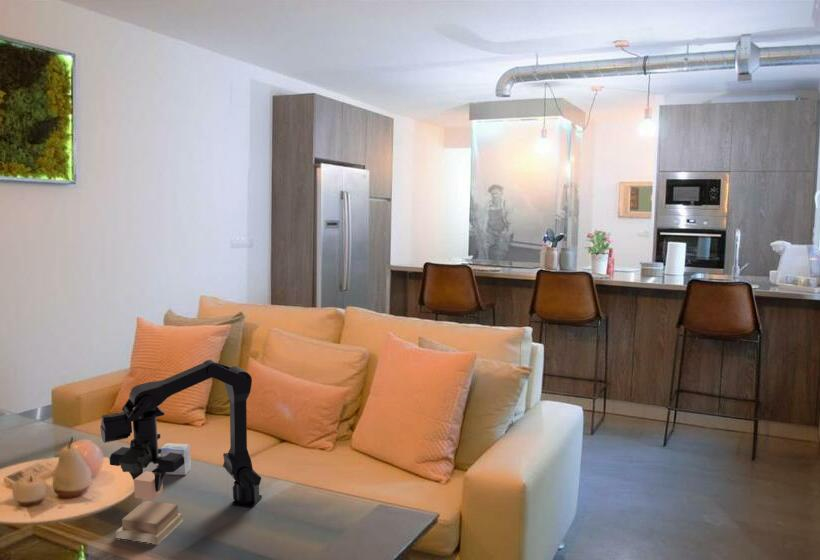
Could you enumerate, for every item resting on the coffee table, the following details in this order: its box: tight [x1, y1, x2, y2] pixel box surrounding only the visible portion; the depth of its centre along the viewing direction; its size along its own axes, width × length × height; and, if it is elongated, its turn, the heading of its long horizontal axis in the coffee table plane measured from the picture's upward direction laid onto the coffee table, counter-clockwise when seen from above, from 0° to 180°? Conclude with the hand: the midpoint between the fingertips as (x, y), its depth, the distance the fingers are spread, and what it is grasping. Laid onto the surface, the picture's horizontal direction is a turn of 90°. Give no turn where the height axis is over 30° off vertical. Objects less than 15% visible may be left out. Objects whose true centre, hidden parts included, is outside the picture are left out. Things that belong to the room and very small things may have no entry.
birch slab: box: [115, 512, 184, 546], centre depth 183 cm, size 12×12×3 cm
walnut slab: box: [121, 500, 179, 535], centre depth 182 cm, size 10×10×3 cm
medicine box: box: [159, 442, 192, 476], centre depth 216 cm, size 8×4×9 cm, turn 84°
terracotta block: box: [133, 470, 164, 501], centre depth 181 cm, size 5×5×5 cm
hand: (148, 489), depth 181 cm, fingers closed on terracotta block, 5 cm apart
